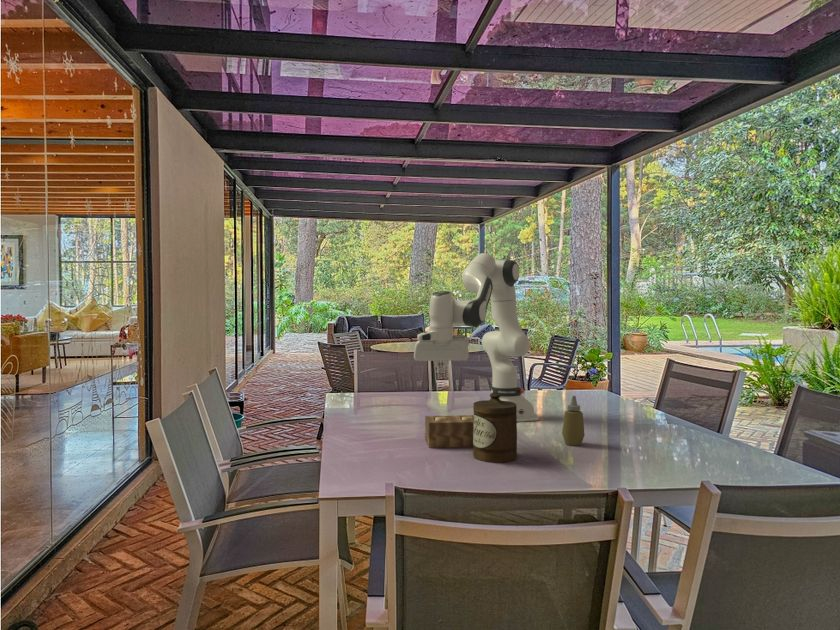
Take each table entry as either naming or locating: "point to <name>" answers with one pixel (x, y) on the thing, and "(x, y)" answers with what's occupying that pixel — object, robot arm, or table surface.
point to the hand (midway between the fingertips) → (441, 372)
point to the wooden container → (495, 430)
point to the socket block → (449, 431)
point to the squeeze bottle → (573, 424)
